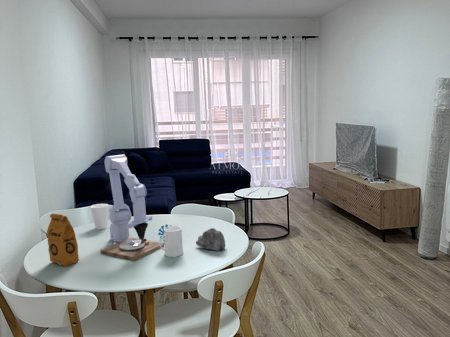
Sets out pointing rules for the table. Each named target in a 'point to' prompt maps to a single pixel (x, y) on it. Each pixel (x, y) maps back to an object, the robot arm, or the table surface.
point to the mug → (172, 241)
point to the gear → (162, 231)
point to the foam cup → (100, 215)
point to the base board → (134, 254)
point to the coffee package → (62, 241)
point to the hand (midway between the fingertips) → (141, 238)
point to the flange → (133, 245)
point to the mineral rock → (211, 240)
